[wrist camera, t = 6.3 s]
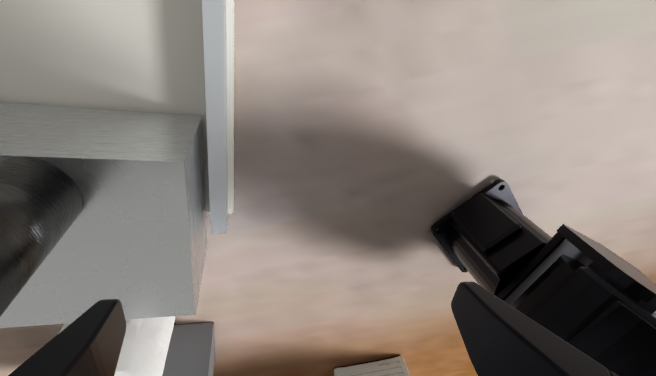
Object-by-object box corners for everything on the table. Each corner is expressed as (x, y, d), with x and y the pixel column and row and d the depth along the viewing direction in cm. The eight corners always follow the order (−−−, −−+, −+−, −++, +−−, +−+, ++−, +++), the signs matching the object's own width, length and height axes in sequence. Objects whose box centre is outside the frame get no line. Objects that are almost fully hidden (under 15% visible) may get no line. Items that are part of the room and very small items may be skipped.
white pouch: (-2, 565, 14) (-98, 517, 11) (105, 323, 24) (70, 265, 21) (151, 522, 15) (100, 467, 12) (192, 306, 25) (169, 248, 22)
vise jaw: (-46, 98, 14) (-536, 269, 5) (201, 115, 17) (148, 252, 8) (12, 245, 18) (-218, 489, 9) (207, 242, 20) (176, 431, 12)
